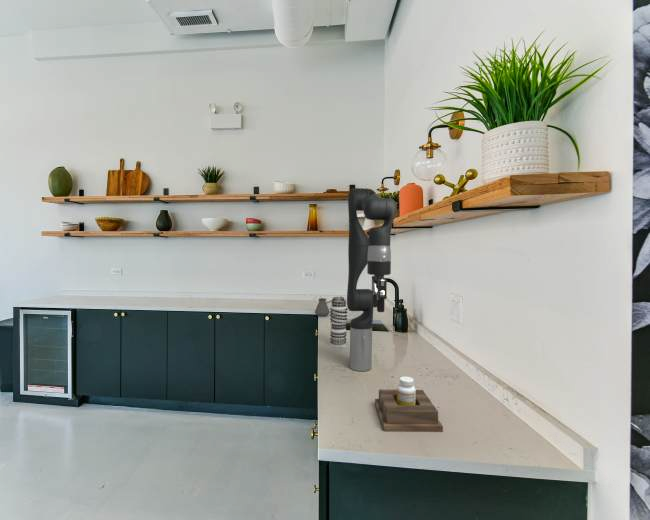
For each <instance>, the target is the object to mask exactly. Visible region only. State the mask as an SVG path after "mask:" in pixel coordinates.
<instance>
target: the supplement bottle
mask: <svg viewBox="0 0 650 520" xmlns="http://www.w3.org/2000/svg"><path fill="white" fill-rule="evenodd" d="M414 381H415V380H414V378H413V377H411V376H401V377H399V384H398V385H397V387H396V390H397V404H398V405H415V403H416V390H417V389H416V386H414Z"/></svg>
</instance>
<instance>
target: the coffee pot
mask: <svg viewBox="0 0 650 520" xmlns="http://www.w3.org/2000/svg"><path fill="white" fill-rule="evenodd" d="M317 300H318V304H317V305H316V308H315V311H314V314H315V315H317V317H327V316H329V315H330V311H331V310H330V308H329V307H328V304H329V303H332V301H331V300H329V301H327V298H324V297H323V298H320V297H319V298H318V299H317Z"/></svg>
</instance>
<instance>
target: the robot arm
mask: <svg viewBox="0 0 650 520" xmlns="http://www.w3.org/2000/svg"><path fill="white" fill-rule="evenodd" d="M347 205H348V207H347V208H348V244H347V245H348V248H347V249H348V250H347V253H348V254H347V255H348V257H347V258H348V277H347V278H348V279H347V291H346V308H347V309H348V311H350V312H362V313H361V314H360V315H358V316H356V317H354V318H352V319H351V320H350V324H349V326H350V327H349V329H350V330H349V368H350V369H351V370H353V371H357V372H368V371H370V370H372V366H373V364H372V363H373V359H372V357H373V355H372V354H373V322H374V321H373V320H374V308H376V311H377V312H378V313H385V302H386V299H387V298H388V296H387V291H388V289H387V286H388V285H387V284H388V281H387V278H386V279H385V276H389V275H391V271H392V266H391V265H392V249H391V236H392V235H391V233H392V229H393V228H392V227H393V223H394V219H395V217H396V214H397V209H398V207H397V206H398V205H397V202H396V201H395V200H394V199H392V198H388V197H387V198H386V197H385V198H384V197H383V198H382V197H379V196H378V195H377V193H376V192H375V191H374V189H371V188H365V187H364V188H361V187H360V188H359V187H357V188H356V187H354V188H353V187H352V188H350V189H349V191H348V195H347ZM358 211H359V212H361V211H362V212H363V216H364V218H365V219H367V220H370V221H383V223H382V224H381V225H380V226H375V227H372V228H370V229H369V231H368V234H367V233H366V231H365V230H364V228H363V227H362V224H361V222H360V220H359V217H358V213H357V212H358ZM366 267H367V269H366ZM365 269H366V271H367V274H368V275H371V276H372V277H371V289H370V288H357V287H358V282H359V279H360V276H361V274H362V273H363V272H364V270H365Z"/></svg>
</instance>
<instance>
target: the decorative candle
mask: <svg viewBox="0 0 650 520" xmlns="http://www.w3.org/2000/svg"><path fill="white" fill-rule="evenodd" d="M330 301H332V302H331V306H330V308H329V311H330V313H329V316H330V318H329V320H330V324H331V325H330V327H331V328H330V335H329V336H330V338H329V339H330V341H329V342H330V343H329V344H330V346H331V347H332V348H333V347H334V348H344V347H346V346H347V338H346V337H347V327H346V325H347V322H348V321H347V320H348V318H347V317H348V315H347V314H348V311H349V309H348V307H347V299H345V297H344V296H335V297H332V299H331V300H330Z"/></svg>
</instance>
